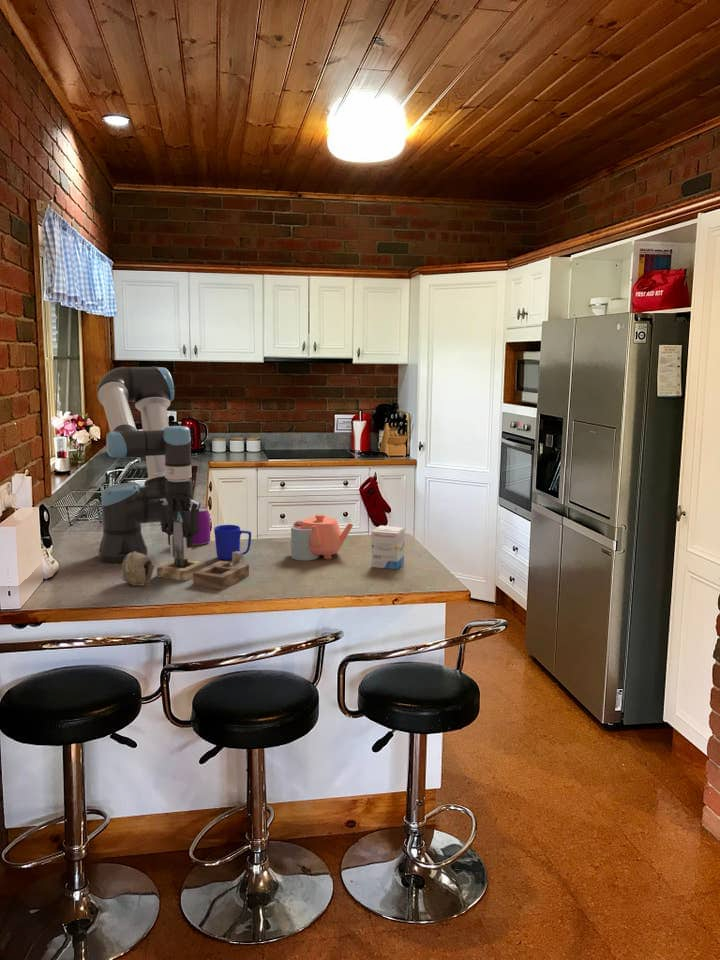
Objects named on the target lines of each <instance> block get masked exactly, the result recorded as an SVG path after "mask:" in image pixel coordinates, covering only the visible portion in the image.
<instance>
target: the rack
mask: <svg viewBox="0 0 720 960" xmlns="http://www.w3.org/2000/svg"><path fill="white" fill-rule="evenodd" d="M205 567H206V562H205V561H199V560H191V559H188V567H186V568H184V569H183V568H176V567H174V559H173V560H169V561H167V562H165V563H163V564H161V565H158V566H157V567H156V577H157V576H160V577H159V578H162V577H167V578H166V579H168V578H173V579H172V580H175V579H179V580H178V581H181V580H185V581H184V582H187V581H189V580H191V579H193V578H192V577H193V573H194V572H197V571H199V570H201V569H203V568H205ZM186 580H187V581H186Z"/></svg>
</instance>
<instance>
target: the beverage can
mask: <svg viewBox="0 0 720 960" xmlns="http://www.w3.org/2000/svg"><path fill="white" fill-rule="evenodd" d="M189 508H190V507H189ZM190 518H191V508H190ZM208 542H209V543H210V542H211V517H210V512H209V510H208V508H207V507H205V506H200V508H199V533H198V534H197V535H194V536H193V546H204V545H203V544H205V545H207V544H209V543H208ZM206 543H207V544H206Z"/></svg>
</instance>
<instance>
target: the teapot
mask: <svg viewBox="0 0 720 960" xmlns="http://www.w3.org/2000/svg"><path fill="white" fill-rule="evenodd" d="M299 523H300V524H302V526H301V528H303V529H312V532H311V537H310V542H309V544H310V545H309V550H310V551H311V553H312V554H313V555H319V556H323V559H324V560H332V559H333V557H332V555H336V554H337V553H338V552H339V550H340V549H341V547H342V546H343V544H344V543H345V540H346V538H348V535H349V533H350V532H351V529H352V528H353V526H354V523H350V522H348V523H347V525H346V526H345V528H344V529H343V531H341V528H340V525H339V523H338V520H337V519H336V518H331V517H328V516H326V515H324V514H318V513H317V514H315V516H312V517H307V518H305V519H304V520H301V519H300V520H299V519H298V520H296V521H295V522H294V523H293V524H292V525H296V524H299Z"/></svg>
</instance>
